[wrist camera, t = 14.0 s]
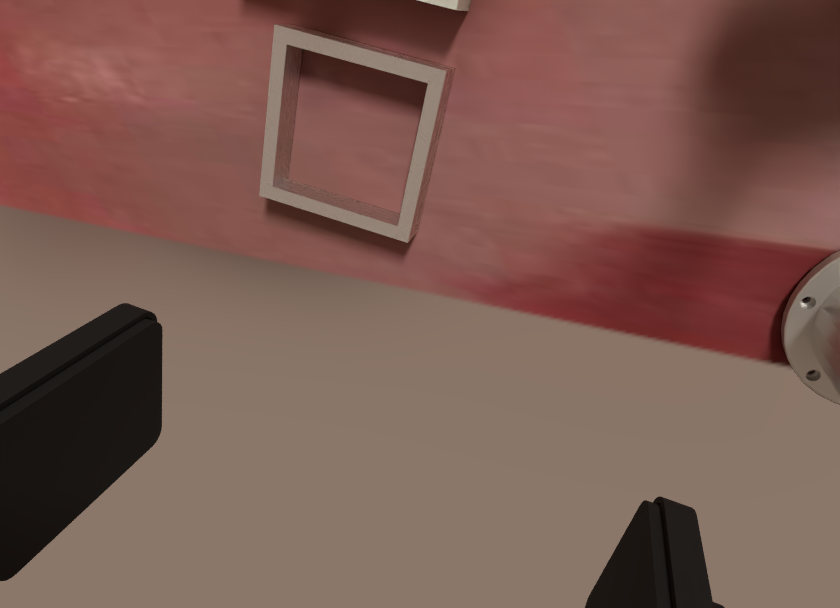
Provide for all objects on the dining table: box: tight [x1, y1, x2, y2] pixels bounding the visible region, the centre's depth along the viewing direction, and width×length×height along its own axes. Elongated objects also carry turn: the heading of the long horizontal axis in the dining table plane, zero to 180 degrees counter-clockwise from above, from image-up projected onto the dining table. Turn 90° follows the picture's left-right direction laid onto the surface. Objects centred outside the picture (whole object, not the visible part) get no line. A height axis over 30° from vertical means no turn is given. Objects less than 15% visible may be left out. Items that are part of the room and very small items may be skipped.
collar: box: [259, 24, 455, 243], centre depth 42 cm, size 12×12×2 cm
